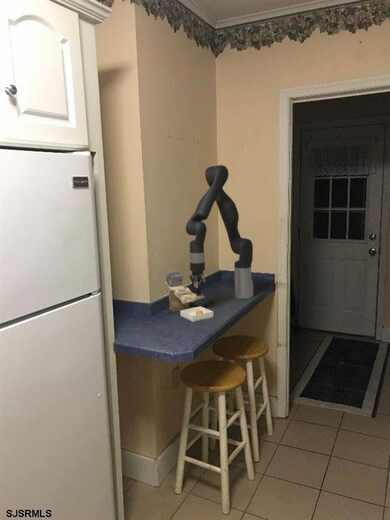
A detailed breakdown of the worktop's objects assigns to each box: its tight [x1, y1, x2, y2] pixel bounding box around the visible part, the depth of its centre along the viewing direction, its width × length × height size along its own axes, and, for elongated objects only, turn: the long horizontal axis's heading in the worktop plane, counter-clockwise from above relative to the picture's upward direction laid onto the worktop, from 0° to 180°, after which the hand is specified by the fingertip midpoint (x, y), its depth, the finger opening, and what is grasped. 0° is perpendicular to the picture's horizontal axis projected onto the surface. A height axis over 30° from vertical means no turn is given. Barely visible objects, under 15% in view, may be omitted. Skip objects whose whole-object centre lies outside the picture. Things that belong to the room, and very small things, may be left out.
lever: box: [164, 269, 205, 304], centre depth 220 cm, size 20×13×7 cm, turn 32°
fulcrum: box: [168, 286, 191, 313], centre depth 222 cm, size 4×10×10 cm, turn 122°
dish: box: [179, 306, 214, 323], centre depth 208 cm, size 12×12×3 cm
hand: (198, 294), depth 218 cm, fingers closed
